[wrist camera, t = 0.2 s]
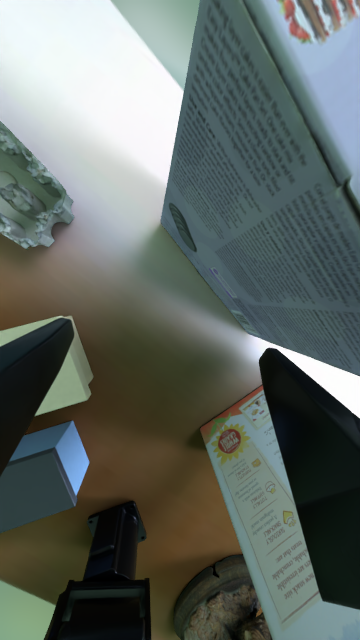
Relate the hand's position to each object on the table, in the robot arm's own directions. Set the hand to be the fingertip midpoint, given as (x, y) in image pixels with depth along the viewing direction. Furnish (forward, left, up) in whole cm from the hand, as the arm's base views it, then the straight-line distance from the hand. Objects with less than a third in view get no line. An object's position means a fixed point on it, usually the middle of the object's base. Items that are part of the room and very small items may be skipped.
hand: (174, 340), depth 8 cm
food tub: (-13, +19, -15) cm, 27 cm away
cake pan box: (+3, -9, -15) cm, 17 cm away
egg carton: (+16, +11, -15) cm, 24 cm away
